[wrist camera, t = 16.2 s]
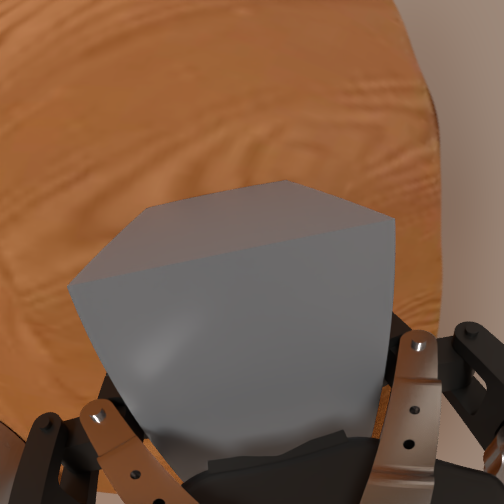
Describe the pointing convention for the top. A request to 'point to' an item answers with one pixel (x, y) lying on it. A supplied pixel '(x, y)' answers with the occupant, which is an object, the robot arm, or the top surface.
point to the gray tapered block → (244, 320)
